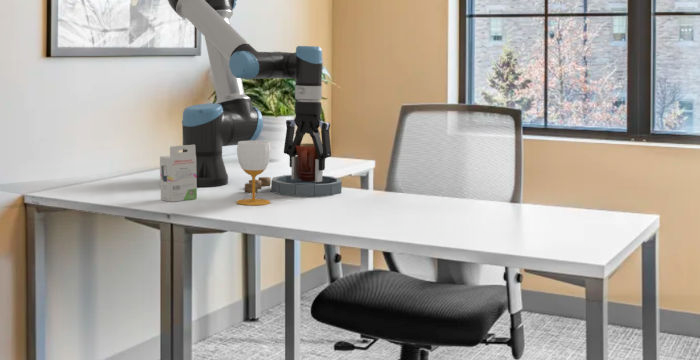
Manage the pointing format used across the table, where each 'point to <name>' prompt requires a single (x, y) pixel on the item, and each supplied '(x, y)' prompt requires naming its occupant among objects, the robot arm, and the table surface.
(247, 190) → the bead
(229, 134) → the robot arm
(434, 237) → the table surface
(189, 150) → the ink box
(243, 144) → the cup
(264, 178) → the bead
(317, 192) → the tray
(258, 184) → the bead
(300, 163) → the mug
